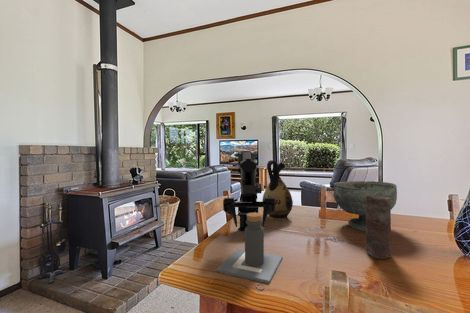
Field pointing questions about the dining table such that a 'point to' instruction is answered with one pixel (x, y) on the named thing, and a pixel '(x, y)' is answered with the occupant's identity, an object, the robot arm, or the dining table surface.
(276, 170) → the ceramic jug
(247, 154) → the robot arm
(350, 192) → the decorative bowl
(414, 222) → the dining table surface
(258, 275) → the pad
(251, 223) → the bottle
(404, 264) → the dining table surface
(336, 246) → the dining table surface
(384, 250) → the candle
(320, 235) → the dining table surface
